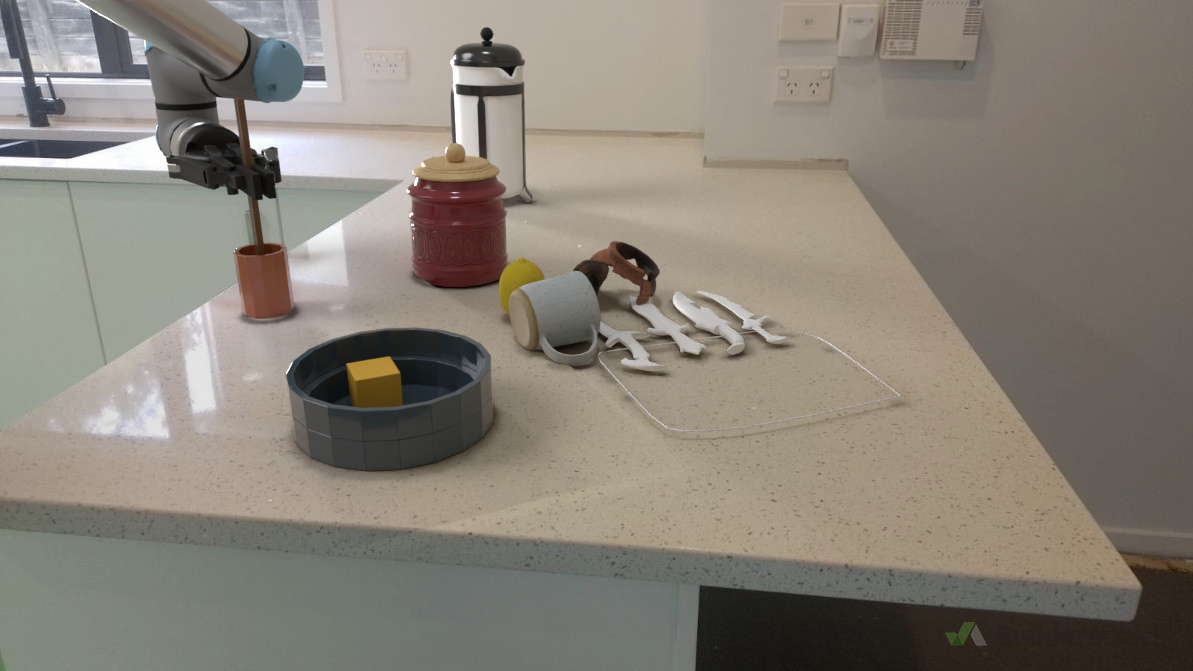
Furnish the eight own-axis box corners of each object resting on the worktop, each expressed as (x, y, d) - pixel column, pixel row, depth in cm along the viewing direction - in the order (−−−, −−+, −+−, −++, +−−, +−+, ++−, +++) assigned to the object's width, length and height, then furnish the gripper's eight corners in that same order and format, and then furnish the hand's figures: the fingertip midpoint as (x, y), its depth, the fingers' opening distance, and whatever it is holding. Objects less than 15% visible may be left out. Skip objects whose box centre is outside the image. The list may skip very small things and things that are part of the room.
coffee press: (542, 192, 161) (541, 26, 149) (521, 213, 146) (517, 30, 135) (456, 188, 163) (447, 24, 152) (426, 207, 149) (415, 27, 137)
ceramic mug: (506, 339, 94) (502, 274, 91) (571, 325, 97) (570, 262, 94) (547, 376, 85) (544, 306, 82) (617, 358, 89) (617, 291, 86)
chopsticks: (264, 293, 98) (237, 99, 89) (260, 289, 99) (233, 97, 91) (270, 292, 98) (244, 98, 90) (266, 288, 99) (239, 97, 91)
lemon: (502, 333, 95) (500, 266, 92) (497, 316, 100) (495, 251, 97) (550, 330, 96) (549, 264, 93) (543, 313, 101) (542, 249, 98)
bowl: (273, 481, 66) (263, 414, 64) (316, 386, 82) (309, 329, 80) (492, 472, 68) (490, 406, 66) (493, 380, 84) (491, 325, 82)
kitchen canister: (507, 288, 109) (503, 152, 103) (406, 289, 109) (396, 152, 102) (509, 259, 121) (506, 135, 115) (419, 259, 120) (410, 134, 114)
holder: (238, 323, 97) (227, 256, 94) (251, 306, 102) (241, 242, 99) (288, 322, 98) (279, 256, 94) (298, 305, 103) (290, 242, 100)
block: (359, 421, 74) (355, 380, 73) (350, 402, 78) (346, 363, 76) (403, 412, 76) (400, 372, 75) (393, 394, 79) (389, 355, 78)
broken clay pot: (601, 287, 112) (632, 237, 109) (646, 332, 108) (680, 281, 104) (541, 284, 103) (573, 229, 100) (587, 333, 98) (623, 277, 95)
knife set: (735, 288, 111) (736, 280, 110) (914, 403, 80) (916, 392, 80) (549, 309, 102) (549, 300, 102) (671, 446, 72) (671, 435, 72)
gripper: (268, 176, 112) (331, 212, 95) (156, 188, 104) (201, 230, 87) (261, 119, 109) (324, 145, 92) (144, 126, 102) (189, 157, 84)
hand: (264, 186), depth 89 cm, fingers closed on chopsticks, 1 cm apart
